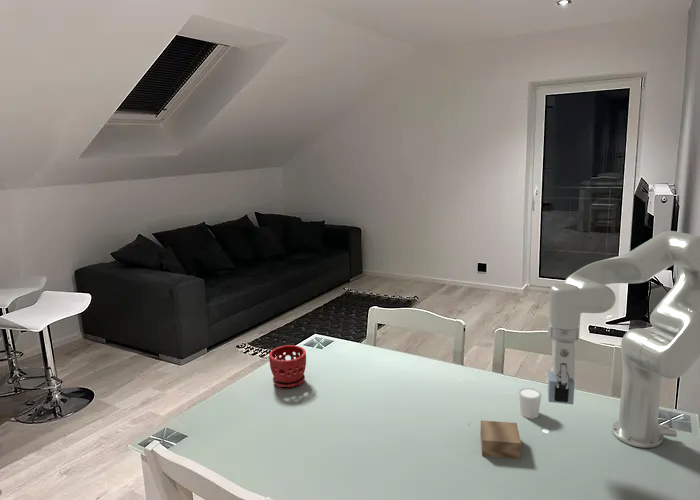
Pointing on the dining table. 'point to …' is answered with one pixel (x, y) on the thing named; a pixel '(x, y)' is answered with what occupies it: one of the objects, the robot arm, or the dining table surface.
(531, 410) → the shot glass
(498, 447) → the walnut block
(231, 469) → the dining table surface
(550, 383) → the slate cube
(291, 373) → the plant pot
